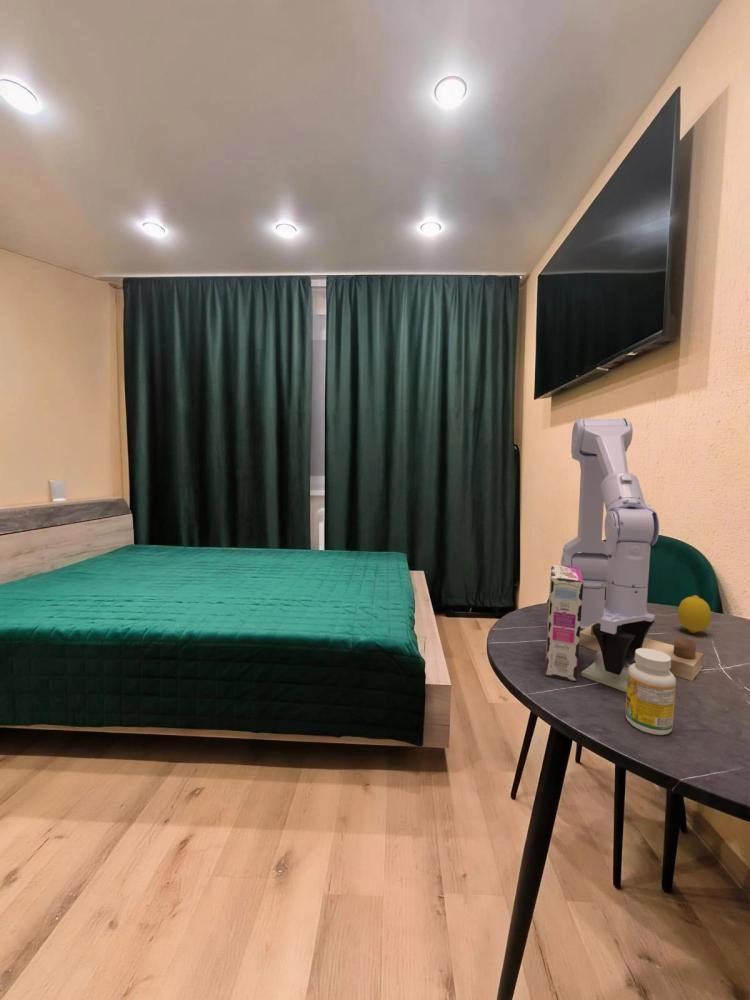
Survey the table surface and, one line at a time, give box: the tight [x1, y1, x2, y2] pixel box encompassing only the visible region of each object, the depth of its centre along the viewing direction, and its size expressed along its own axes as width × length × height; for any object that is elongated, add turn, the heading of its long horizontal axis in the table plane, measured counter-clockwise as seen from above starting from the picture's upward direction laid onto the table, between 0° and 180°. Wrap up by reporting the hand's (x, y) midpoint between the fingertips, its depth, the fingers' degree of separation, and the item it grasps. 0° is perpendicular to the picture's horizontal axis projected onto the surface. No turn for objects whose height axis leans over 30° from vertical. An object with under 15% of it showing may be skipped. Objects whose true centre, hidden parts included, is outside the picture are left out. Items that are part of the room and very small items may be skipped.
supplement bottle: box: [625, 648, 677, 736], centre depth 57 cm, size 5×5×10 cm
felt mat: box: [580, 661, 627, 693], centre depth 70 cm, size 9×9×1 cm
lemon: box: [677, 595, 712, 634], centre depth 89 cm, size 6×6×8 cm
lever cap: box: [594, 649, 636, 682], centre depth 69 cm, size 7×4×4 cm, turn 42°
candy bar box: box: [544, 564, 583, 682], centre depth 73 cm, size 11×5×16 cm, turn 158°
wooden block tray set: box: [579, 620, 705, 682], centre depth 78 cm, size 18×7×5 cm, turn 42°
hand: (621, 664), depth 70 cm, fingers open, 7 cm apart
